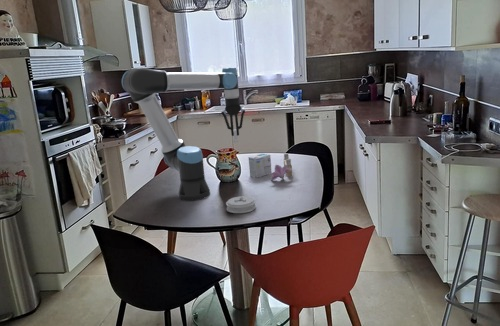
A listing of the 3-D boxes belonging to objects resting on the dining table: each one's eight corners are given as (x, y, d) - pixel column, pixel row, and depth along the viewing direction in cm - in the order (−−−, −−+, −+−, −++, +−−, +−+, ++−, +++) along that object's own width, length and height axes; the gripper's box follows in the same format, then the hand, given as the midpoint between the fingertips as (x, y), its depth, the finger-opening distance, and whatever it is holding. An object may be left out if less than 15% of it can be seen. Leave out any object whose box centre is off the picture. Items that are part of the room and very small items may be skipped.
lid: (249, 202, 190) (248, 192, 189) (261, 211, 179) (260, 200, 178) (222, 208, 186) (221, 197, 184) (232, 217, 174) (231, 206, 173)
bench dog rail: (292, 176, 226) (291, 159, 223) (286, 176, 226) (285, 160, 223) (289, 168, 241) (288, 153, 239) (284, 169, 241) (283, 153, 239)
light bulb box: (264, 171, 239) (263, 152, 237) (272, 173, 234) (270, 154, 231) (249, 175, 233) (247, 156, 230) (257, 178, 228) (255, 158, 225)
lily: (296, 180, 221) (289, 163, 223) (294, 178, 209) (287, 160, 211) (274, 189, 222) (268, 172, 224) (271, 187, 211) (265, 169, 213)
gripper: (244, 95, 227) (248, 139, 233) (220, 97, 227) (224, 141, 233) (244, 97, 220) (248, 142, 225) (219, 99, 220) (223, 144, 225)
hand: (235, 141), depth 229 cm, fingers closed
